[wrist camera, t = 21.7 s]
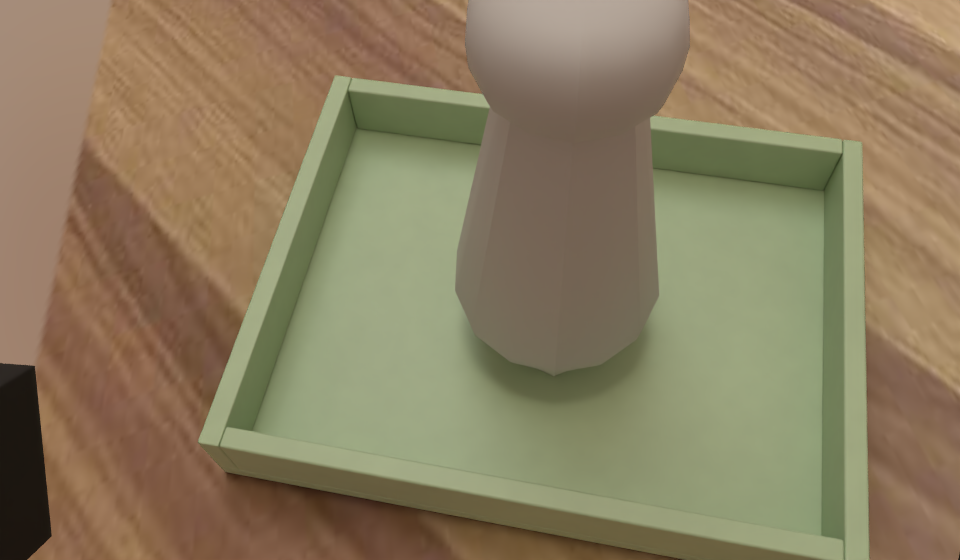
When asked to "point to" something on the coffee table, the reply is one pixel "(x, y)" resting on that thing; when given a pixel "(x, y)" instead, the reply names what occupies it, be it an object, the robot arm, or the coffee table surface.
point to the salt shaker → (566, 175)
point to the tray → (576, 393)
